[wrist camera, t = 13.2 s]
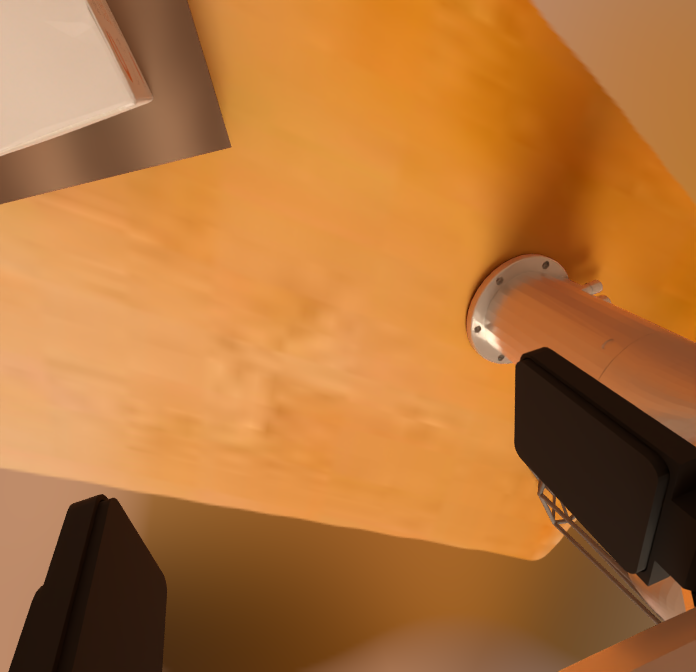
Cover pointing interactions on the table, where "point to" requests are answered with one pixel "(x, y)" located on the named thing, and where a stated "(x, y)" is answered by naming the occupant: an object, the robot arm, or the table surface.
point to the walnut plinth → (133, 111)
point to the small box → (62, 70)
